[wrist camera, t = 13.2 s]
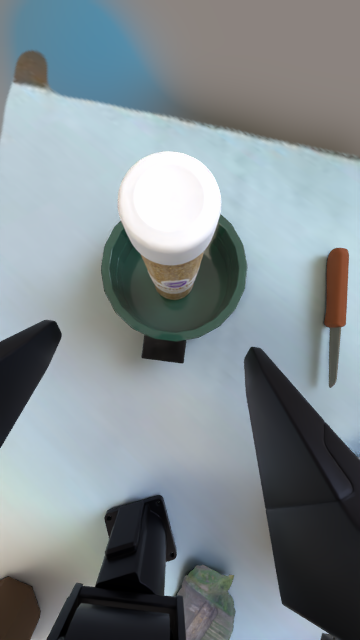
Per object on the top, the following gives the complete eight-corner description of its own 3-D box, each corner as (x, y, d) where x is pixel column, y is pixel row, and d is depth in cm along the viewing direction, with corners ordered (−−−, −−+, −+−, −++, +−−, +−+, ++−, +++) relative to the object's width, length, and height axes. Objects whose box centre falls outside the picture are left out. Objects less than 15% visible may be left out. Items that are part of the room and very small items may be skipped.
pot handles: (183, 362, 18) (183, 363, 17) (142, 356, 18) (141, 358, 17) (205, 191, 19) (206, 185, 18) (166, 185, 19) (166, 179, 18)
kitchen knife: (325, 252, 22) (339, 244, 20) (336, 253, 22) (352, 245, 20) (317, 384, 21) (332, 390, 19) (329, 385, 21) (345, 391, 19)
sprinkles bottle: (163, 306, 21) (137, 267, 8) (148, 269, 21) (98, 166, 8) (200, 291, 21) (240, 227, 8) (185, 255, 21) (199, 129, 8)
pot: (225, 345, 21) (238, 349, 17) (109, 330, 21) (91, 330, 17) (238, 232, 22) (254, 207, 18) (126, 216, 22) (112, 188, 17)
